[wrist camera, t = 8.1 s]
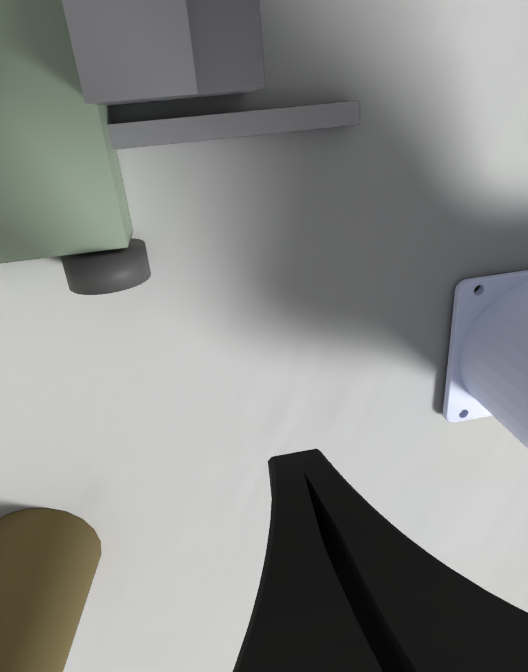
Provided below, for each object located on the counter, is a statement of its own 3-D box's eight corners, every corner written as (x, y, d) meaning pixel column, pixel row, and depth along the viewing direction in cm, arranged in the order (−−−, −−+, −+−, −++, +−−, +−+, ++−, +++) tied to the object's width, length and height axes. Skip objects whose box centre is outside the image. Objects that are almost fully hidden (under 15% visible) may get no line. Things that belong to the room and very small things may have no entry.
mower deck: (349, -364, 13) (465, -675, 8) (350, 237, 20) (411, 279, 15) (-477, -385, 11) (-1081, -847, 6) (-138, 301, 18) (-261, 376, 13)
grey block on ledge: (230, -83, 15) (252, -157, 11) (246, 93, 17) (269, 87, 13) (69, -75, 15) (27, -151, 10) (106, 105, 17) (85, 103, 13)
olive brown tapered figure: (-20, 503, 23) (-164, 795, 13) (109, 512, 25) (66, 778, 15) (-25, 589, 25) (-151, 893, 15) (93, 592, 27) (48, 869, 17)
